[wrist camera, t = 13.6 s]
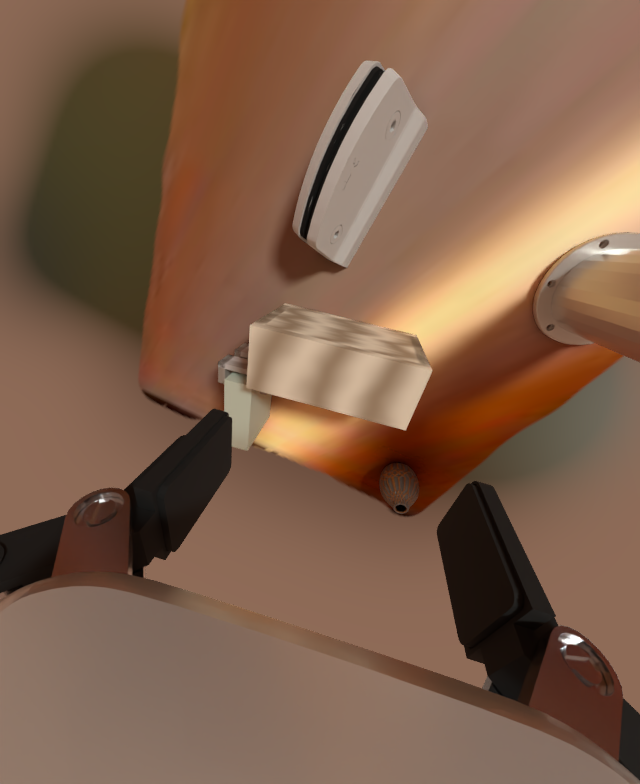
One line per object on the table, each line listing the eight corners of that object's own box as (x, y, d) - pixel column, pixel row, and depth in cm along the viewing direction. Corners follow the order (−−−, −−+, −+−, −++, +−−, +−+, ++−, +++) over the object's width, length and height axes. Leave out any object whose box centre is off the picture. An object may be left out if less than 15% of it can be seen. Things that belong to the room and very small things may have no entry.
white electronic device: (345, 270, 36) (309, 259, 28) (320, 251, 37) (277, 235, 29) (430, 122, 28) (416, 42, 20) (395, 103, 29) (366, 19, 21)
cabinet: (416, 335, 39) (432, 370, 28) (391, 399, 44) (396, 450, 33) (246, 294, 41) (196, 311, 29) (243, 360, 46) (200, 397, 35)
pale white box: (275, 360, 45) (251, 386, 36) (269, 416, 51) (247, 450, 42) (249, 353, 45) (219, 377, 37) (245, 410, 51) (219, 442, 43)
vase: (388, 486, 54) (389, 526, 46) (373, 462, 52) (372, 499, 44) (421, 478, 51) (429, 518, 44) (407, 452, 49) (413, 490, 41)
